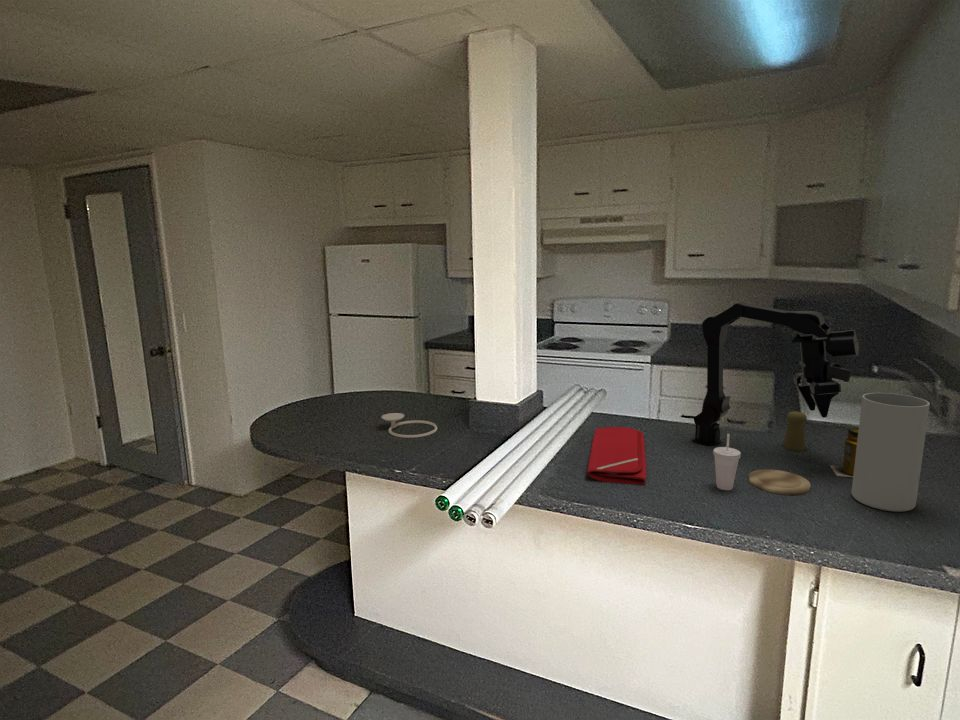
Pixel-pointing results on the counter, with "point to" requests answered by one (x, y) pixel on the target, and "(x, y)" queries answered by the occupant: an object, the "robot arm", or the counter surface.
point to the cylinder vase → (889, 451)
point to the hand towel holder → (398, 416)
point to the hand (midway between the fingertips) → (818, 413)
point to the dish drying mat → (618, 456)
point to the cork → (795, 431)
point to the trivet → (779, 482)
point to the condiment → (848, 455)
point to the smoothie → (726, 465)
